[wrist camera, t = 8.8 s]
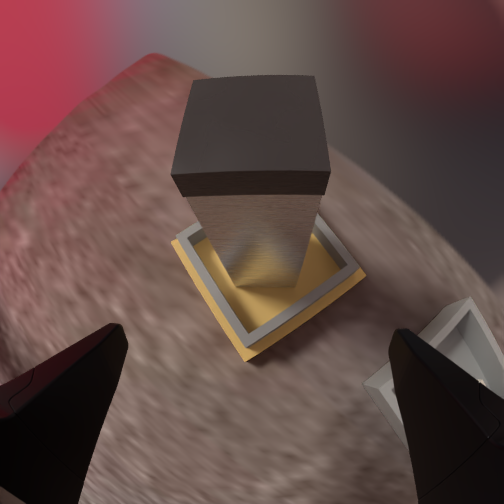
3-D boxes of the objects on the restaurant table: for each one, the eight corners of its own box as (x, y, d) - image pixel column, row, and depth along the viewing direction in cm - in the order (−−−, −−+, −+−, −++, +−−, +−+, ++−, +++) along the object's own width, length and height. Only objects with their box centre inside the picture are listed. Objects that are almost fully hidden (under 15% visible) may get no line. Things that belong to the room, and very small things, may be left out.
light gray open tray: (501, 407, 15) (527, 410, 12) (430, 483, 14) (451, 498, 10) (445, 305, 19) (471, 296, 15) (361, 383, 18) (378, 389, 14)
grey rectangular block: (296, 288, 19) (330, 170, 7) (234, 287, 20) (170, 174, 7) (295, 230, 21) (314, 76, 8) (237, 231, 21) (193, 80, 9)
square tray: (362, 279, 20) (373, 268, 18) (246, 361, 19) (242, 362, 16) (282, 180, 23) (282, 161, 21) (175, 247, 22) (163, 233, 20)
